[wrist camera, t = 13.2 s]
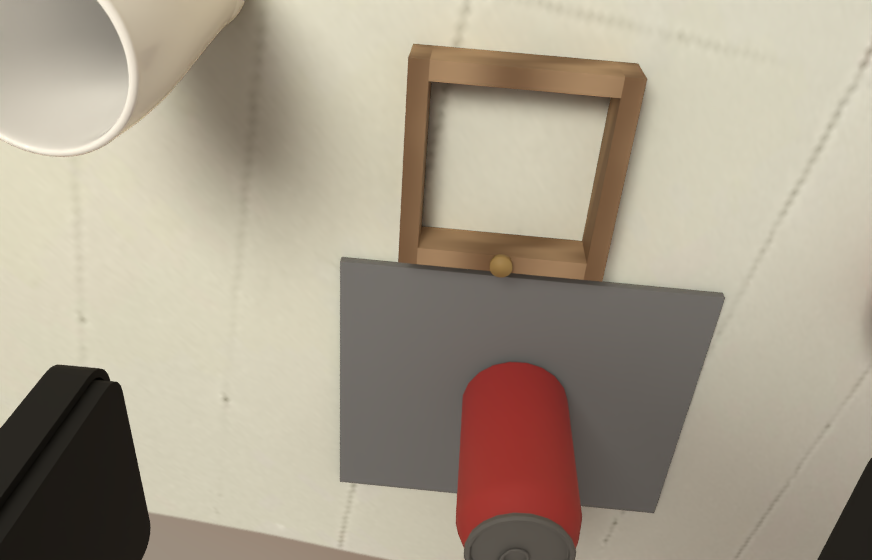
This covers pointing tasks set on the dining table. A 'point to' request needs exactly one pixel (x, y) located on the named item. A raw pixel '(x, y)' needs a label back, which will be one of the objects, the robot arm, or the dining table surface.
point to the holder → (525, 74)
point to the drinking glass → (95, 65)
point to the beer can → (517, 467)
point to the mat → (515, 342)
